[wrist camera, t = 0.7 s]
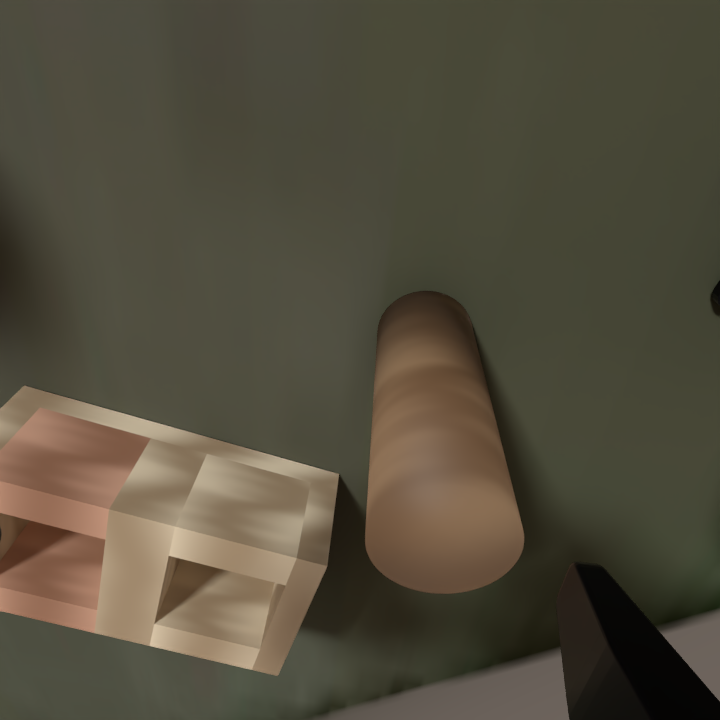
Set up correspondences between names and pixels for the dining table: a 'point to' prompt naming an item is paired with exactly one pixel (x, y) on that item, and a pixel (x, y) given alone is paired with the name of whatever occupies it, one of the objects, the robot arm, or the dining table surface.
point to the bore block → (157, 532)
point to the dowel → (436, 455)
